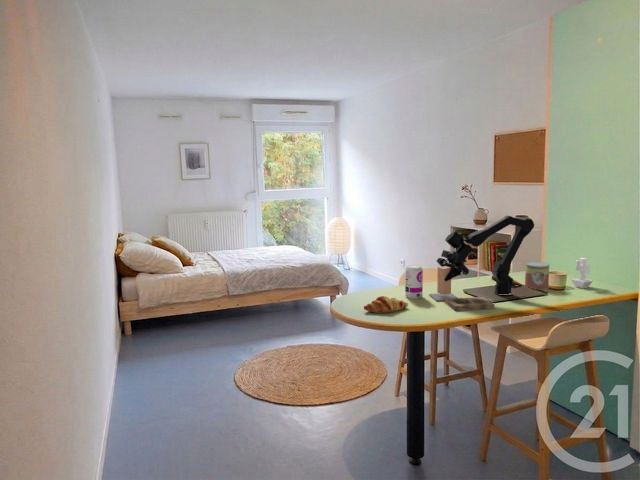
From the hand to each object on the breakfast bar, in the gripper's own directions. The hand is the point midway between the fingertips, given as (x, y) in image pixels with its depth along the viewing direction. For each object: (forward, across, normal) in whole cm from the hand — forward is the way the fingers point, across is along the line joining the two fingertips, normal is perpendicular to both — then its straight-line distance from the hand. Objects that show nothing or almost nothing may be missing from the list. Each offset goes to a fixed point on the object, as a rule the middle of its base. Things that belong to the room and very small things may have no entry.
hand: (441, 279), depth 234 cm
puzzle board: (+4, +16, +9) cm, 19 cm away
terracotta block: (+4, 0, +6) cm, 7 cm away
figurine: (-47, +14, +61) cm, 78 cm away
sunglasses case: (-28, -10, +42) cm, 52 cm away
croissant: (+30, +6, -17) cm, 35 cm away
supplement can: (+14, -8, -1) cm, 16 cm away
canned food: (-33, +4, +46) cm, 57 cm away
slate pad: (+6, 0, +7) cm, 9 cm away
